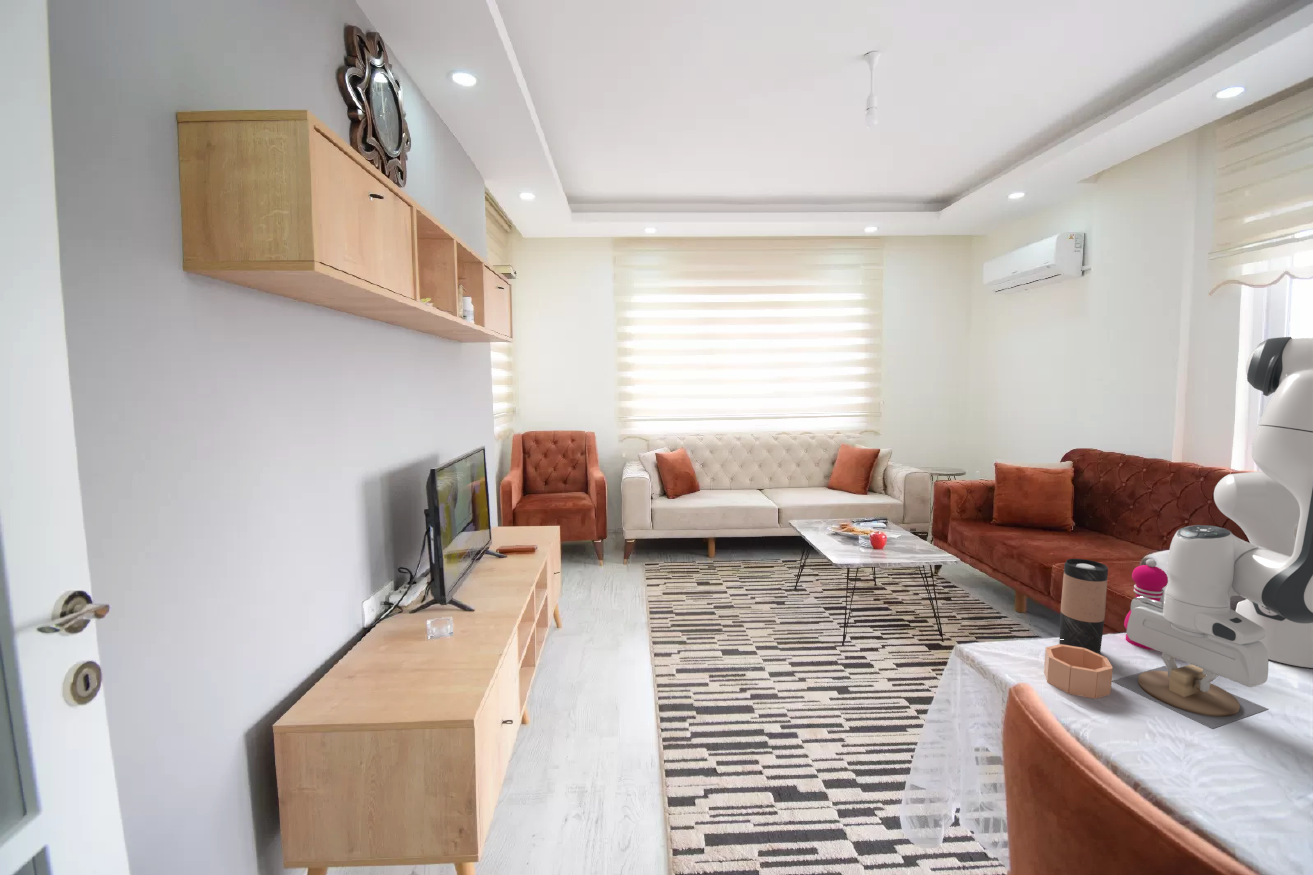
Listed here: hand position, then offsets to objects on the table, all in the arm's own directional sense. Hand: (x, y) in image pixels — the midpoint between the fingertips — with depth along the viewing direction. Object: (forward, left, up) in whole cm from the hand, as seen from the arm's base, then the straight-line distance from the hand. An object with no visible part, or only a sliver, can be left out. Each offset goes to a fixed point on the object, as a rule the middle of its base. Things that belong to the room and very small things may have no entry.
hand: (1187, 683), depth 107 cm
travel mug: (+1, -19, -3) cm, 19 cm away
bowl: (+15, -10, -3) cm, 18 cm away
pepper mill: (-15, -16, -3) cm, 22 cm away
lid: (0, 0, -2) cm, 2 cm away
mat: (0, 0, -3) cm, 3 cm away
